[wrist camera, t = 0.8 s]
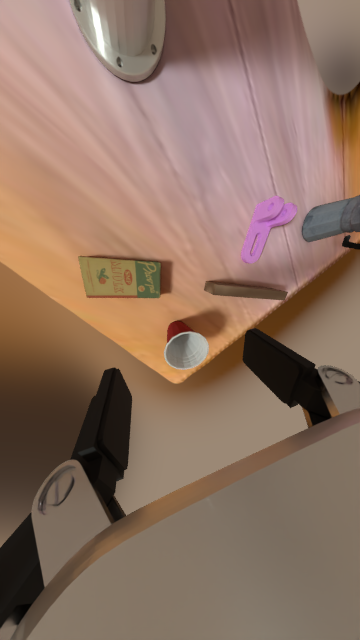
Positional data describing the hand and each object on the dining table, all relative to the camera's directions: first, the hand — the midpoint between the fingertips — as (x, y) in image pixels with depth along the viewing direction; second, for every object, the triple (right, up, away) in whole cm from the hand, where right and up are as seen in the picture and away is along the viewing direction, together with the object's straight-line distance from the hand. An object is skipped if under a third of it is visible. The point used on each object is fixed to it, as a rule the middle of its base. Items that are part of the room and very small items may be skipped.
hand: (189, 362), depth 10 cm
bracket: (+20, +26, +27) cm, 42 cm away
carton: (-14, +14, +23) cm, 30 cm away
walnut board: (+18, +13, +32) cm, 39 cm away
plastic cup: (-2, 0, +32) cm, 32 cm away
